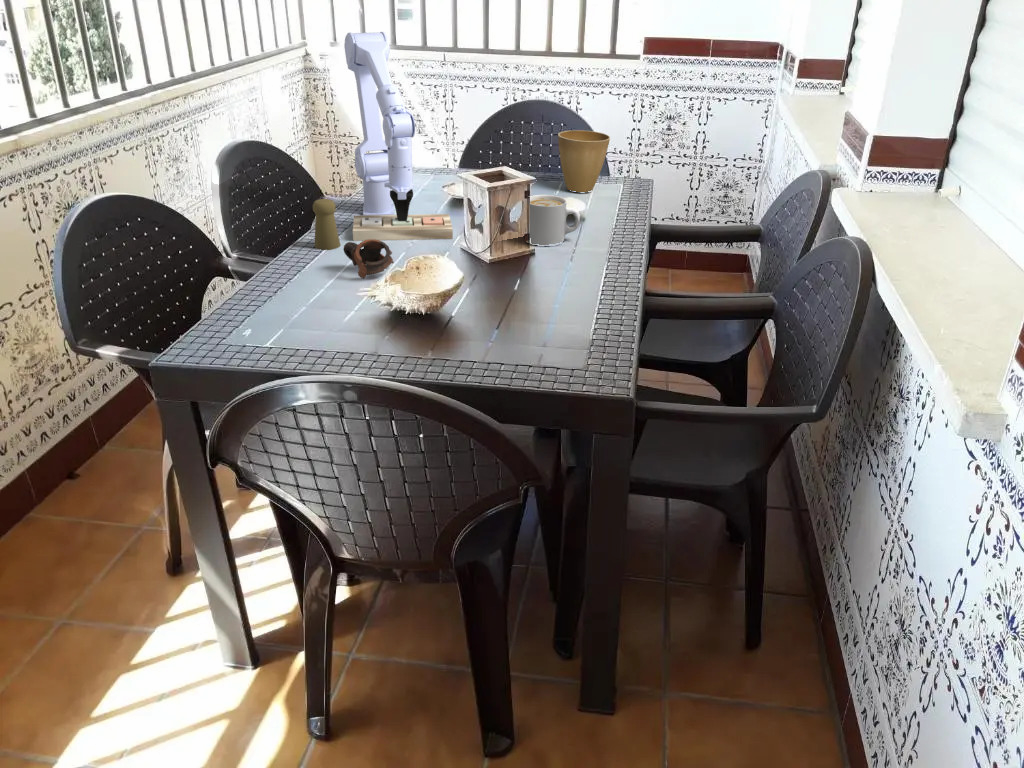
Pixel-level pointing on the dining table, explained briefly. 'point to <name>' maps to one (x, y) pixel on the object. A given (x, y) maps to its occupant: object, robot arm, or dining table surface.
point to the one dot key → (432, 221)
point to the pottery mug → (368, 256)
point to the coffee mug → (550, 219)
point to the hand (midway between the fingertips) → (402, 220)
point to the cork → (325, 225)
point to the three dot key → (402, 222)
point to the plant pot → (582, 158)
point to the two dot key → (371, 221)
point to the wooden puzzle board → (402, 228)
